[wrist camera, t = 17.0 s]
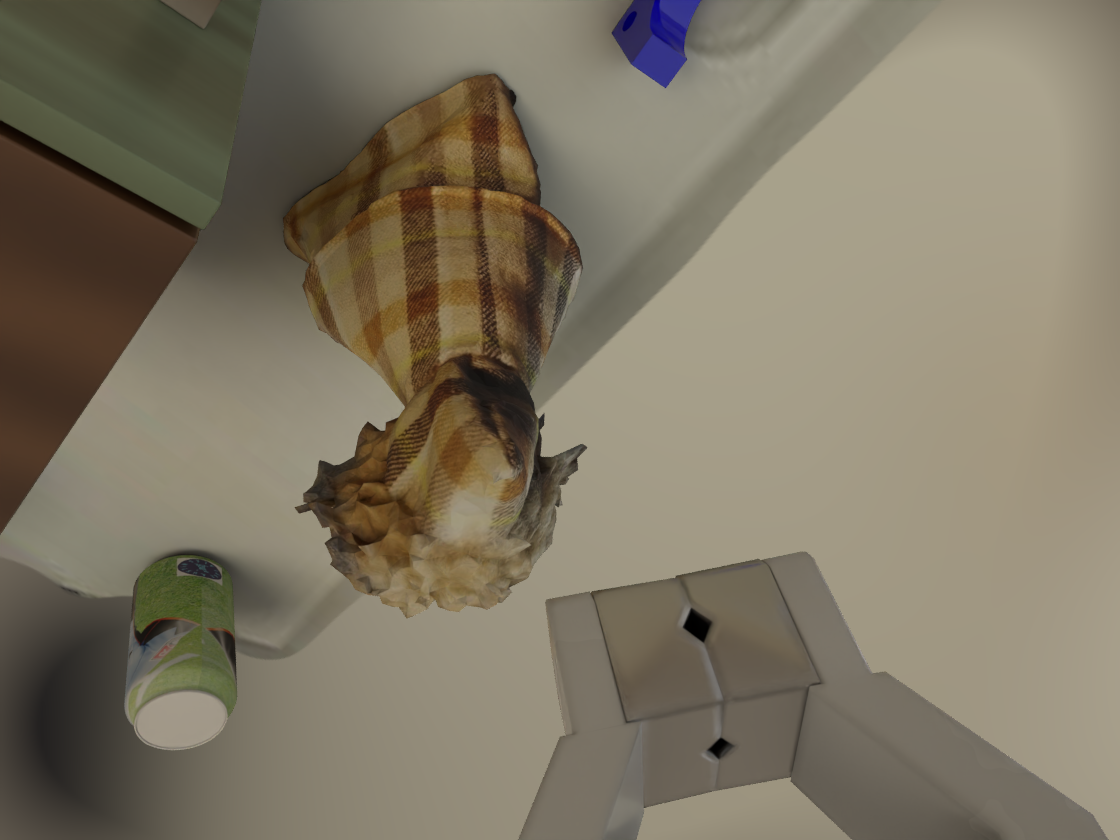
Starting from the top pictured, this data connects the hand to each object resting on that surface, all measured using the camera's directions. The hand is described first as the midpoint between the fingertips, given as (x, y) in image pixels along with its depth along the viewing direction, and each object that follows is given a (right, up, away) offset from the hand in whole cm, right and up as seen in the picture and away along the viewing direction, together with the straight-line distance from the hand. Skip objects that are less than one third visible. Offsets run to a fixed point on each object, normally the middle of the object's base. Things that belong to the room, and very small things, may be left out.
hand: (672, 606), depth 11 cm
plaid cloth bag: (-7, +13, +37) cm, 40 cm away
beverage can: (-26, -8, +51) cm, 58 cm away
